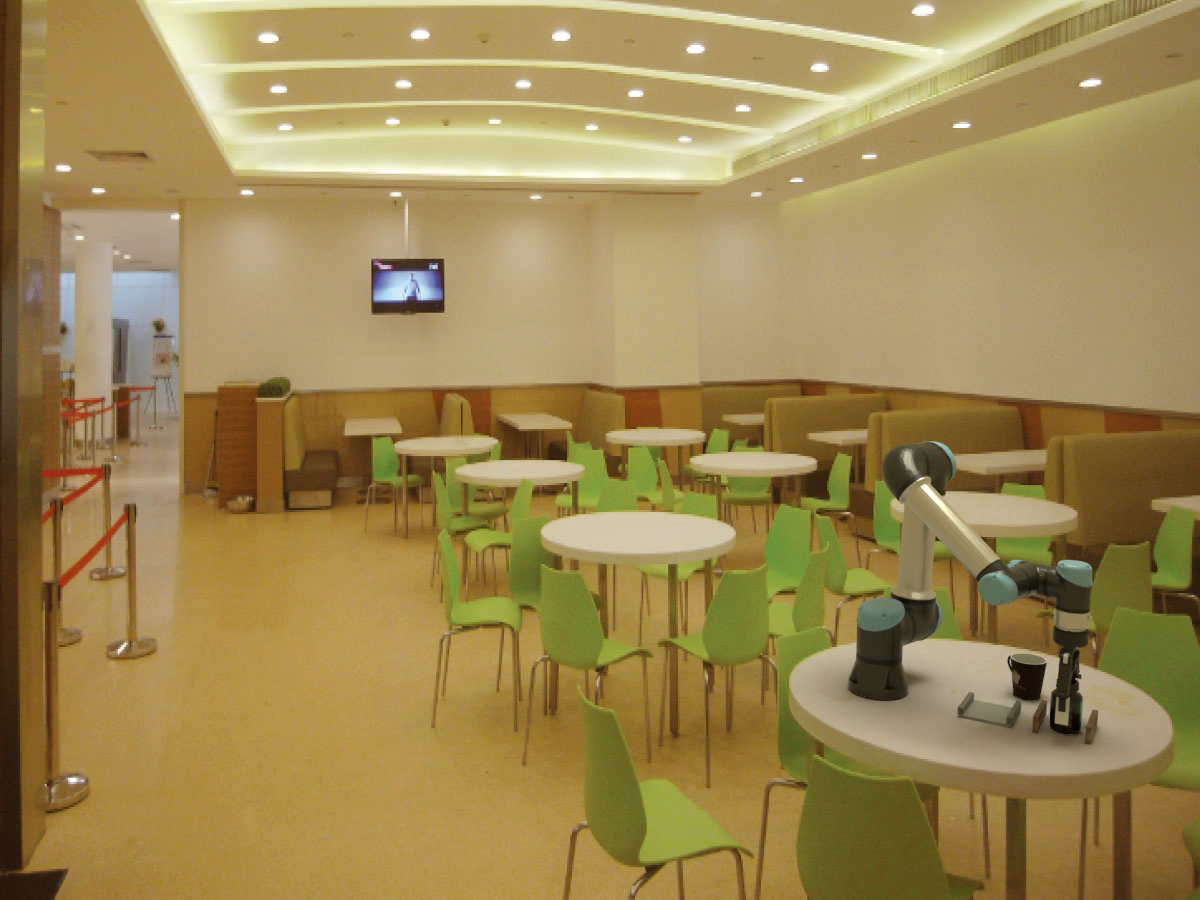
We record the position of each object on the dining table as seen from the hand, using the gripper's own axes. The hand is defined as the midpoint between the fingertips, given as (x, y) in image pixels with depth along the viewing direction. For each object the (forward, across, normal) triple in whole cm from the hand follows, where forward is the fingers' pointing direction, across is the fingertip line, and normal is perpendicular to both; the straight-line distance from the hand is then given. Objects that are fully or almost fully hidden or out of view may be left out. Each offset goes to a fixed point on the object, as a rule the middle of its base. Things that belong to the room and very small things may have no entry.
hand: (1065, 714), depth 232 cm
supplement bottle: (+4, 0, 0) cm, 4 cm away
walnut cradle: (+4, 0, 0) cm, 4 cm away
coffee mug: (+4, +19, +12) cm, 23 cm away
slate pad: (+4, 0, +17) cm, 17 cm away
